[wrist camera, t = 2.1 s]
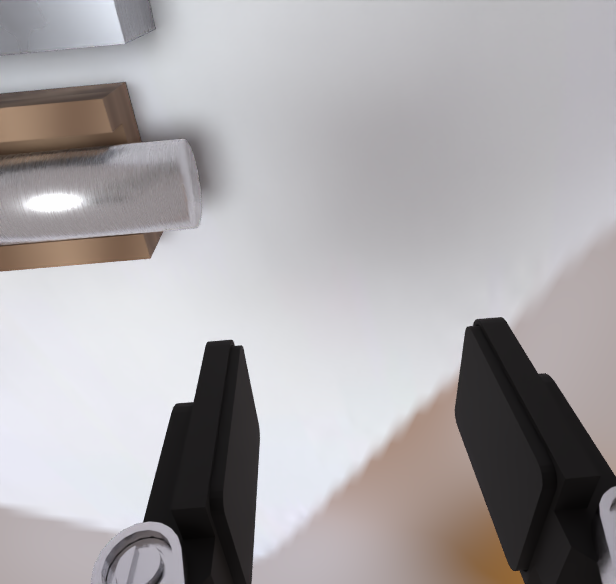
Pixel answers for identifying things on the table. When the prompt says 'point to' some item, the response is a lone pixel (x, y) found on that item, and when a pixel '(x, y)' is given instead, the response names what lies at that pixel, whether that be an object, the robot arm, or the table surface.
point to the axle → (98, 192)
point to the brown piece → (70, 135)
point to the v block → (70, 24)
